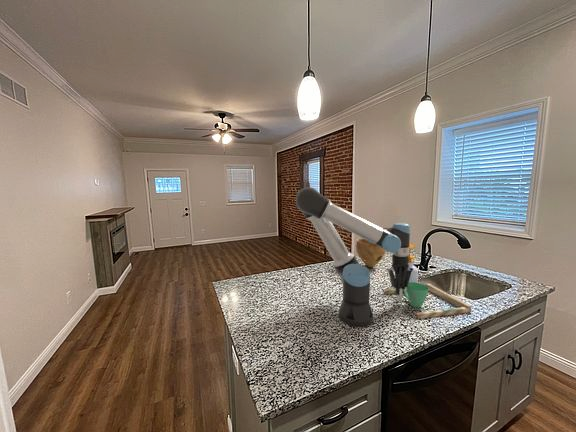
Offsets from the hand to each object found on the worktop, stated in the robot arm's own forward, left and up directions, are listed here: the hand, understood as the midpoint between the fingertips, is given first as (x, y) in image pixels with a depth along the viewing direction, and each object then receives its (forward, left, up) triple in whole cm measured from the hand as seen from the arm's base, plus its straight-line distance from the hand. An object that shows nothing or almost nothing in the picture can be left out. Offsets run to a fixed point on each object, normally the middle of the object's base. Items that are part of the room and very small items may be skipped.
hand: (399, 300), depth 123 cm
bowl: (+14, +55, -3) cm, 57 cm away
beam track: (+14, 0, -2) cm, 14 cm away
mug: (+7, 0, -3) cm, 8 cm away
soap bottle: (+20, +20, -3) cm, 29 cm away
